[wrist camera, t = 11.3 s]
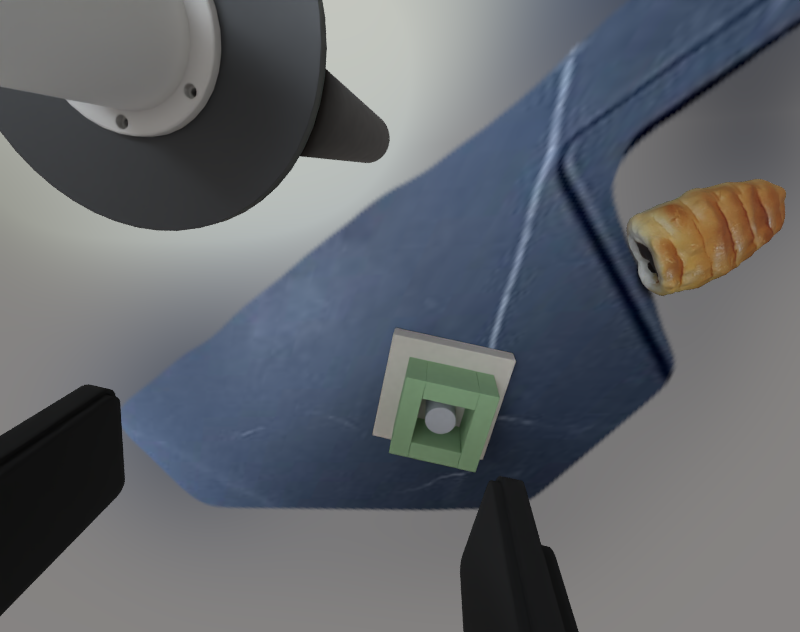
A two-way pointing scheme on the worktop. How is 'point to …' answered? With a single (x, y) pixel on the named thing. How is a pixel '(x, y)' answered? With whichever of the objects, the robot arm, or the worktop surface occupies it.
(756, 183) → the pastry
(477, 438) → the green hollow square block
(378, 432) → the base pad
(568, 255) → the worktop surface
